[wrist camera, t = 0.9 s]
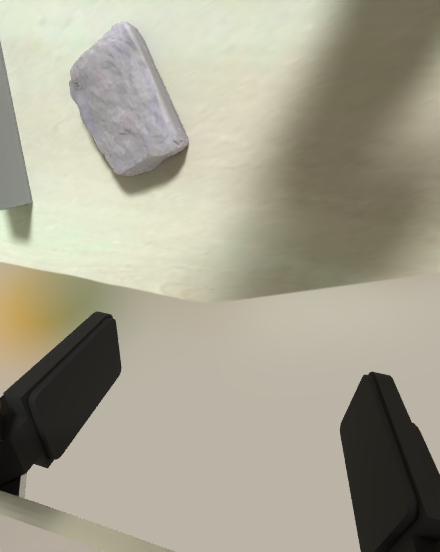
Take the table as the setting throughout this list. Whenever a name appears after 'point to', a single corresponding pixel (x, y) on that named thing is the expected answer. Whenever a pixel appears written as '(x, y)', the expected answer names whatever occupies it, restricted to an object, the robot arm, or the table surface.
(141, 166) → the stone block
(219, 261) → the table surface
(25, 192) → the board
